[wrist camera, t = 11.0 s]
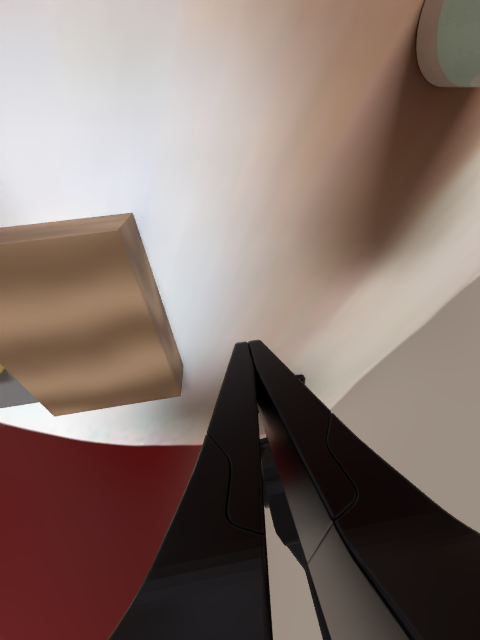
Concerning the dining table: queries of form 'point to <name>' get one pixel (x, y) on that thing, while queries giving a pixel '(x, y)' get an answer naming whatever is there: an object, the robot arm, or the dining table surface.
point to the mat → (13, 391)
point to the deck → (84, 316)
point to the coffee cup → (450, 43)
